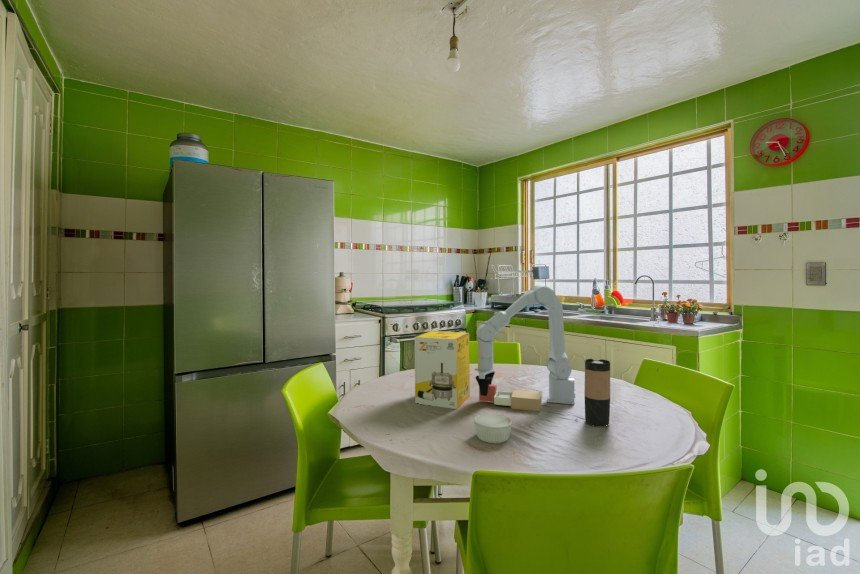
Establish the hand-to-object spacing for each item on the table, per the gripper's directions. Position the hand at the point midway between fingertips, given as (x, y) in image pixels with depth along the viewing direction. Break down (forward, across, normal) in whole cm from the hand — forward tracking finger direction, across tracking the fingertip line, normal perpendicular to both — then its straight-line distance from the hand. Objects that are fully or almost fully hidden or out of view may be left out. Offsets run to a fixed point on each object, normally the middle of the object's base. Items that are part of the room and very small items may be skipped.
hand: (485, 393), depth 151 cm
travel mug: (+4, +10, +38) cm, 39 cm away
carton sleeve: (+3, 0, +15) cm, 15 cm away
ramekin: (+4, +31, +8) cm, 32 cm away
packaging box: (+4, +2, -16) cm, 17 cm away
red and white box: (+3, 0, +5) cm, 6 cm away
